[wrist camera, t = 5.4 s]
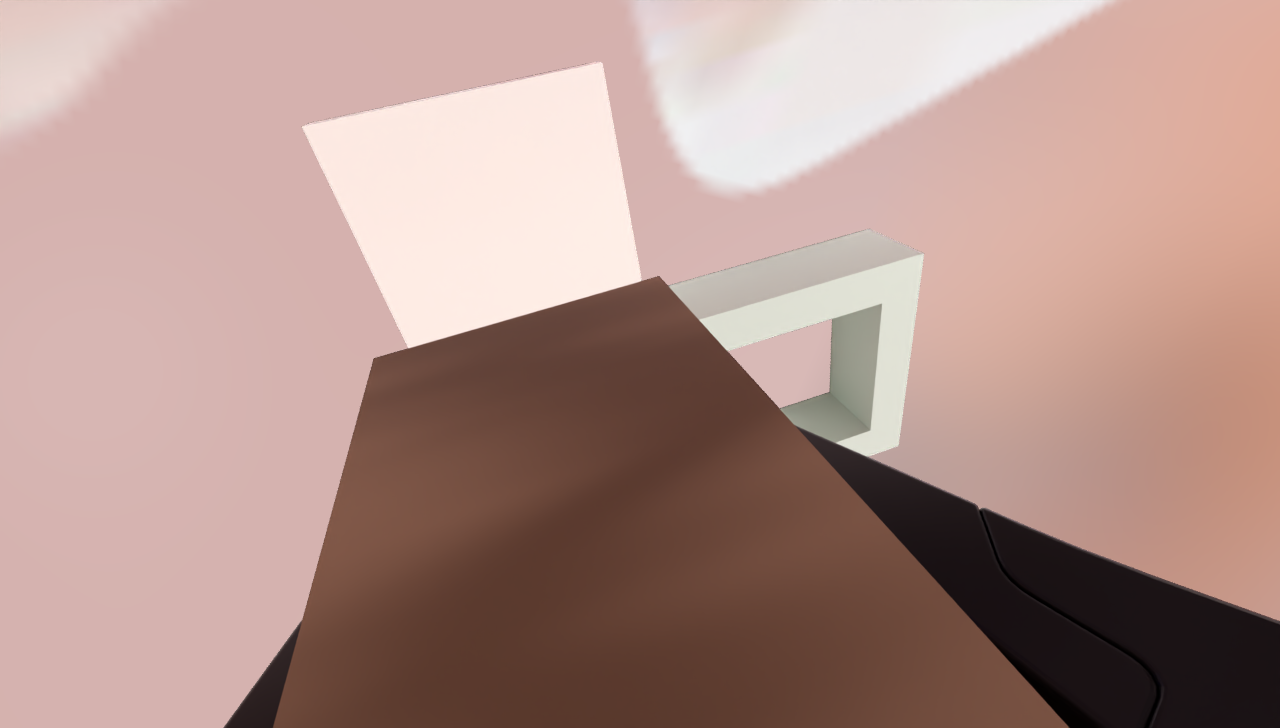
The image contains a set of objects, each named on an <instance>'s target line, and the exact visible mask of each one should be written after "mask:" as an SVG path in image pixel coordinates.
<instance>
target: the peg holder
mask: <svg viewBox="0 0 1280 728" xmlns="http://www.w3.org/2000/svg"><path fill="white" fill-rule="evenodd" d="M923 258H924V253H923V252H920V251H918V250H916V249H914V248H911V247H909V246H907V245H905V244H902V243H900V242H898V241H895V240H893V239H891V238H889V237H887V236H884V235H882V234H880V233H878V232H875V231H873V230H871V229H867V230H863V231H860V232H856V233H853V234H849V235H845V236H842V237H838V238H835V239H831V240H828V241H824V242H821V243H817V244H814V245H810V246H807V247H803V248H800V249H796V250H792V251H789V252H785V253H782V254H778V255H775V256H771V257H768V258H764V259H761V260H757V261H754V262H750V263H746V264H743V265H740V266H736V267H732V268H729V269H725V270H722V271H718V272H715V273H711V274H708V275H704V276H701V277H697V278H693V279H690V280H687V281H683V282H679V283H676V284H672V285H669V287H670V289H671V290H672V291H673V292H674V293H675V294H676V295H677V296H678V297H679V298H680V300H681V301H682V302H683V303H684V304H685V305H686V306H687V307H688V308H689V309H690V311H691V312H692V313H693V314H694V315H695V316H696V317H697V318H698V319H699V320H700V322H701V323H702V324H703V325H704V326H705V327H706V328H707V329H708V330H709V331H710V333H711V334H712V335H713V336H714V337H715V338H716V339H717V340H718V341H719V342H720V344H721V345H722V346H723V347H724V348H725V349H726V350H727V351H729V350H732V349H736V348H739V347H742V346H745V345H749V344H752V343H755V342H759V341H762V340H765V339H768V338H771V337H775V336H778V335H781V334H784V333H788V332H791V331H794V330H798V329H801V328H804V327H807V326H811V325H814V324H817V323H820V322H824V321H827V320H830V319H832V337H831V367H830V392H829V393H825V394H822V395H819V396H816V397H813V398H810V399H807V400H804V401H801V402H798V403H795V404H792V405H789V406H786V407H783V408H780V410H781V411H782V412H783V413H784V414H785V415H786V416H787V417H788V418H789V420H790V421H791V422H792V423H793V424H794V425H796V426H798V427H801V428H803V429H805V430H807V431H810V432H812V433H814V434H817V435H819V436H821V437H823V438H826V439H828V440H830V441H833V442H835V443H837V444H840V445H842V446H844V447H846V448H849V449H851V450H853V451H856V452H858V453H860V454H862V455H865V456H867V457H868V456H871V455H874V454H877V453H880V452H882V451H885V450H888V449H891V448H894V447H897V446H898V445H899V438H900V430H901V423H902V416H903V408H904V401H905V393H906V386H907V378H908V371H909V363H910V356H911V348H912V341H913V333H914V326H915V317H916V311H917V303H918V296H919V288H920V280H921V273H922V266H923Z"/></svg>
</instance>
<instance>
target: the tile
mask: <svg viewBox="0 0 1280 728" xmlns="http://www.w3.org/2000/svg"><path fill="white" fill-rule="evenodd" d="M302 129H303V131H304V133H305V135H306V137H307V139H308V141H309V143H310V145H311V148H312V149H313V152H314V154H315V156H316V158H317V160H318V162H319V164H320V166H321V168H322V170H323V172H324V175H325V177H326V179H327V181H328V183H329V185H330V187H331V189H332V191H333V193H334V195H335V197H336V199H337V201H338V204H339V206H340V208H341V210H342V212H343V214H344V216H345V218H346V220H347V222H348V224H349V226H350V229H351V230H352V233H353V235H354V237H355V239H356V241H357V243H358V245H359V247H360V249H361V251H362V253H363V256H364V258H365V260H366V262H367V264H368V266H369V268H370V270H371V272H372V274H373V276H374V278H375V281H376V283H377V285H378V287H379V289H380V291H381V293H382V295H383V297H384V299H385V301H386V303H387V306H388V308H389V310H390V312H391V314H392V316H393V318H394V320H395V322H396V324H397V326H398V328H399V330H400V332H401V335H402V336H403V339H404V341H405V343H406V345H407V347H408V348H411V347H415V346H418V345H422V344H425V343H429V342H432V341H436V340H439V339H443V338H446V337H450V336H453V335H456V334H460V333H463V332H467V331H470V330H474V329H477V328H481V327H484V326H488V325H491V324H495V323H498V322H502V321H505V320H508V319H512V318H515V317H519V316H522V315H526V314H529V313H533V312H536V311H540V310H543V309H547V308H550V307H554V306H557V305H560V304H564V303H567V302H571V301H574V300H578V299H581V298H585V297H588V296H592V295H595V294H599V293H602V292H606V291H609V290H612V289H616V288H619V287H623V286H626V285H630V284H633V283H637V282H640V281H642V279H641V275H640V268H639V263H638V257H637V252H636V247H635V241H634V235H633V230H632V224H631V219H630V213H629V207H628V202H627V196H626V191H625V185H624V181H623V175H622V169H621V163H620V158H619V152H618V147H617V142H616V136H615V130H614V125H613V119H612V114H611V108H610V102H609V97H608V92H607V86H606V80H605V75H604V69H603V64H602V62H592V63H588V64H583V65H578V66H574V67H569V68H564V69H560V70H555V71H550V72H546V73H541V74H536V75H532V76H527V77H522V78H517V79H514V80H508V81H504V82H499V83H494V84H490V85H485V86H480V87H475V88H471V89H466V90H461V91H457V92H452V93H447V94H443V95H438V96H433V97H428V98H424V99H419V100H414V101H410V102H405V103H401V104H396V105H391V106H386V107H382V108H377V109H372V110H368V111H364V112H358V113H354V114H349V115H344V116H340V117H335V118H330V119H326V120H321V121H316V122H311V123H308V124H306V125H304V126H302Z"/></svg>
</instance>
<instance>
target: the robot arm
mask: <svg viewBox="0 0 1280 728" xmlns="http://www.w3.org/2000/svg"><path fill="white" fill-rule="evenodd" d="M795 426H796V425H795ZM796 427H797V428H798V429H799V431H800V432H801V433H802V434H803V435H804V436H805V437H806V438H807V439H808V441H809V442H810V443H811V444H812V445H813V446H814V447H815V448H816V449H817V450H818V452H819V453H820V454H821V455H822V456H823V457H824V458H825V459H826V460H827V461H828V463H829V464H830V465H831V466H832V467H833V468H834V469H835V470H836V471H837V472H838V474H839V475H840V476H841V477H842V478H843V479H844V480H845V481H846V482H847V483H848V485H849V486H850V487H851V488H852V489H853V490H854V491H855V492H856V493H857V494H858V496H859V497H860V498H861V499H862V500H863V501H864V502H865V503H866V504H867V505H868V507H869V508H870V509H871V510H872V511H873V512H874V513H875V514H876V515H877V516H878V518H879V519H880V520H881V521H882V522H883V523H884V524H885V525H886V526H887V528H888V529H889V530H890V531H891V532H892V533H893V534H894V535H895V536H896V537H897V539H898V540H899V541H900V542H901V543H902V544H903V545H904V546H905V547H906V548H907V550H908V551H909V552H910V553H911V554H912V555H913V556H914V557H915V558H916V559H917V561H918V562H919V563H920V564H921V565H922V566H923V567H924V568H925V569H926V570H927V572H928V573H929V574H930V575H931V576H932V577H933V578H934V579H935V580H936V581H937V583H938V584H939V585H940V586H941V587H942V588H943V589H944V590H945V591H946V592H947V594H948V595H949V596H950V597H951V598H952V599H953V600H954V601H955V602H956V604H957V605H958V606H959V607H960V608H961V609H962V610H963V611H964V612H965V613H966V615H967V616H968V617H969V618H970V619H971V620H972V621H973V622H974V623H975V624H976V626H977V627H978V628H979V629H980V630H981V631H982V632H983V633H984V634H985V635H986V637H987V638H988V639H989V640H990V641H991V642H992V643H993V644H994V645H995V646H996V648H997V649H998V650H999V651H1000V652H1001V653H1002V654H1003V655H1004V656H1005V657H1006V659H1007V660H1008V661H1009V662H1010V663H1011V664H1012V665H1013V666H1014V667H1015V668H1016V670H1017V671H1018V672H1019V673H1020V674H1021V675H1022V676H1023V677H1024V678H1025V680H1026V681H1027V682H1028V683H1029V684H1030V685H1031V686H1032V687H1033V688H1034V689H1035V691H1036V692H1037V693H1038V694H1039V695H1040V696H1041V697H1042V698H1043V699H1044V700H1045V702H1046V703H1047V704H1048V705H1049V706H1050V707H1051V708H1052V709H1053V710H1054V711H1055V713H1056V714H1057V715H1058V716H1059V717H1060V718H1061V719H1062V720H1063V721H1064V722H1065V724H1066V725H1067V726H1068V727H1069V728H1280V621H1278V620H1275V619H1272V618H1270V617H1267V616H1264V615H1261V614H1258V613H1256V612H1253V611H1250V610H1247V609H1245V608H1242V607H1239V606H1236V605H1233V604H1231V603H1228V602H1225V601H1222V600H1220V599H1217V598H1214V597H1211V596H1209V595H1206V594H1203V593H1200V592H1198V591H1194V590H1192V589H1189V588H1186V587H1184V586H1181V585H1178V584H1175V583H1173V582H1170V581H1167V580H1164V579H1161V578H1159V577H1156V576H1153V575H1150V574H1147V573H1145V572H1142V571H1140V570H1137V569H1134V568H1132V567H1129V566H1127V565H1124V564H1121V563H1119V562H1116V561H1113V560H1111V559H1108V558H1105V557H1103V556H1100V555H1097V554H1095V553H1092V552H1089V551H1087V550H1084V549H1081V548H1079V547H1077V546H1074V545H1072V544H1069V543H1067V542H1065V541H1062V540H1060V539H1057V538H1055V537H1053V536H1050V535H1048V534H1045V533H1043V532H1041V531H1038V530H1036V529H1033V528H1031V527H1028V526H1026V525H1024V524H1021V523H1019V522H1017V521H1014V520H1012V519H1010V518H1007V517H1005V516H1003V515H1001V514H998V513H996V512H994V511H991V510H989V509H987V508H981V509H980V510H979V508H978V506H977V505H976V504H975V503H972V502H970V501H968V500H965V499H963V498H961V497H959V496H956V495H954V494H952V493H949V492H947V491H945V490H942V489H940V488H938V487H936V486H933V485H931V484H929V483H927V482H924V481H922V480H920V479H917V478H915V477H913V476H910V475H908V474H906V473H904V472H901V471H899V470H897V469H895V468H892V467H890V466H888V465H885V464H883V463H881V462H878V461H876V460H874V459H872V458H869V457H867V456H865V455H862V454H860V453H858V452H856V451H853V450H851V449H849V448H846V447H844V446H842V445H840V444H837V443H835V442H833V441H830V440H828V439H826V438H823V437H821V436H819V435H817V434H814V433H812V432H810V431H807V430H805V429H803V428H801V427H798V426H796ZM301 623H302V621H301V622H300V623H299V625H298V626H297V628H296V629H295V630H294V632H293V633H292V634H291V636H290V637H289V638H288V640H287V641H286V643H285V644H284V645H283V647H282V648H281V649H280V651H279V652H278V654H277V655H276V656H275V658H274V659H273V661H272V662H271V663H270V665H269V666H268V667H267V669H266V670H265V671H264V673H263V674H262V676H261V677H260V678H259V680H258V681H257V683H256V684H255V685H254V687H253V688H252V689H251V691H250V692H249V694H248V695H247V696H246V698H245V699H244V700H243V702H242V703H241V704H240V706H239V707H238V709H237V710H236V711H235V713H234V714H233V715H232V717H231V718H230V720H229V721H228V723H227V724H226V725H225V726H224V728H273V726H274V722H275V718H276V715H277V711H278V707H279V704H280V700H281V696H282V693H283V689H284V685H285V682H286V678H287V674H288V671H289V667H290V663H291V660H292V656H293V652H294V649H295V645H296V641H297V638H298V634H299V631H300V627H301Z"/></svg>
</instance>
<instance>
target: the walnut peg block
mask: <svg viewBox="0 0 1280 728" xmlns="http://www.w3.org/2000/svg"><path fill="white" fill-rule="evenodd" d="M273 728H1069V727H1068V726H1067V725H1066V724H1065V722H1064V721H1063V720H1062V719H1061V718H1060V717H1059V716H1058V715H1057V714H1056V713H1055V711H1054V710H1053V709H1052V708H1051V707H1050V706H1049V705H1048V704H1047V703H1046V702H1045V700H1044V699H1043V698H1042V697H1041V696H1040V695H1039V694H1038V693H1037V692H1036V691H1035V689H1034V688H1033V687H1032V686H1031V685H1030V684H1029V683H1028V682H1027V681H1026V680H1025V678H1024V677H1023V676H1022V675H1021V674H1020V673H1019V672H1018V671H1017V670H1016V668H1015V667H1014V666H1013V665H1012V664H1011V663H1010V662H1009V661H1008V660H1007V659H1006V657H1005V656H1004V655H1003V654H1002V653H1001V652H1000V651H999V650H998V649H997V648H996V646H995V645H994V644H993V643H992V642H991V641H990V640H989V639H988V638H987V637H986V635H985V634H984V633H983V632H982V631H981V630H980V629H979V628H978V627H977V626H976V624H975V623H974V622H973V621H972V620H971V619H970V618H969V617H968V616H967V615H966V613H965V612H964V611H963V610H962V609H961V608H960V607H959V606H958V605H957V604H956V602H955V601H954V600H953V599H952V598H951V597H950V596H949V595H948V594H947V592H946V591H945V590H944V589H943V588H942V587H941V586H940V585H939V584H938V583H937V581H936V580H935V579H934V578H933V577H932V576H931V575H930V574H929V573H928V572H927V570H926V569H925V568H924V567H923V566H922V565H921V564H920V563H919V562H918V561H917V559H916V558H915V557H914V556H913V555H912V554H911V553H910V552H909V551H908V550H907V548H906V547H905V546H904V545H903V544H902V543H901V542H900V541H899V540H898V539H897V537H896V536H895V535H894V534H893V533H892V532H891V531H890V530H889V529H888V528H887V526H886V525H885V524H884V523H883V522H882V521H881V520H880V519H879V518H878V516H877V515H876V514H875V513H874V512H873V511H872V510H871V509H870V508H869V507H868V505H867V504H866V503H865V502H864V501H863V500H862V499H861V498H860V497H859V496H858V494H857V493H856V492H855V491H854V490H853V489H852V488H851V487H850V486H849V485H848V483H847V482H846V481H845V480H844V479H843V478H842V477H841V476H840V475H839V474H838V472H837V471H836V470H835V469H834V468H833V467H832V466H831V465H830V464H829V463H828V461H827V460H826V459H825V458H824V457H823V456H822V455H821V454H820V453H819V452H818V450H817V449H816V448H815V447H814V446H813V445H812V444H811V443H810V442H809V441H808V439H807V438H806V437H805V436H804V435H803V434H802V433H801V432H800V431H799V429H798V428H797V427H796V426H795V425H794V424H793V423H792V422H791V421H790V420H789V418H788V417H787V416H786V415H785V414H784V413H783V412H782V411H781V410H780V409H779V408H778V406H777V405H776V404H775V403H774V402H773V401H772V400H771V399H770V398H769V397H768V395H767V394H766V393H765V392H764V391H763V390H762V389H761V388H760V387H759V385H758V384H757V383H756V382H755V381H754V380H753V379H752V378H751V377H750V376H749V374H748V373H747V372H746V371H745V370H744V369H743V368H742V367H741V366H740V365H739V364H738V362H737V361H736V360H735V359H734V358H733V357H732V356H731V355H730V353H728V351H727V350H726V349H725V348H724V347H723V346H722V345H721V344H720V342H719V341H718V340H717V339H716V338H715V337H714V336H713V335H712V334H711V333H710V331H709V330H708V329H707V328H706V327H705V326H704V325H703V324H702V323H701V322H700V320H699V319H698V318H697V317H696V316H695V315H694V314H693V313H692V312H691V311H690V309H689V308H688V307H687V306H686V305H685V304H684V303H683V302H682V301H681V300H680V298H679V297H678V296H677V295H676V294H675V293H674V292H673V291H672V290H671V289H670V287H669V286H668V285H667V284H666V283H665V282H664V281H663V280H662V279H661V278H660V276H657V277H654V278H651V279H647V280H644V281H640V282H637V283H633V284H630V285H626V286H623V287H619V288H616V289H612V290H609V291H606V292H602V293H599V294H595V295H592V296H588V297H585V298H581V299H578V300H574V301H571V302H567V303H564V304H560V305H557V306H554V307H550V308H547V309H543V310H540V311H536V312H533V313H529V314H526V315H522V316H519V317H515V318H512V319H508V320H505V321H502V322H498V323H495V324H491V325H488V326H484V327H481V328H477V329H474V330H470V331H467V332H463V333H460V334H456V335H453V336H450V337H446V338H443V339H439V340H436V341H432V342H429V343H425V344H422V345H418V346H415V347H411V348H408V349H405V350H401V351H398V352H394V353H391V354H387V355H384V356H380V357H377V358H374V359H373V363H372V367H371V371H370V374H369V378H368V381H367V385H366V389H365V393H364V397H363V400H362V403H361V407H360V411H359V414H358V418H357V422H356V425H355V430H354V433H353V436H352V440H351V444H350V447H349V451H348V455H347V459H346V462H345V466H344V469H343V473H342V477H341V480H340V484H339V488H338V491H337V495H336V499H335V502H334V506H333V510H332V514H331V517H330V521H329V524H328V528H327V532H326V535H325V539H324V543H323V547H322V550H321V554H320V557H319V561H318V565H317V568H316V572H315V576H314V579H313V583H312V587H311V590H310V594H309V598H308V601H307V605H306V609H305V612H304V616H303V620H302V623H301V627H300V631H299V634H298V638H297V641H296V645H295V649H294V652H293V656H292V660H291V663H290V667H289V671H288V674H287V678H286V682H285V685H284V689H283V693H282V696H281V700H280V704H279V707H278V711H277V715H276V718H275V722H274V726H273Z"/></svg>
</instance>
